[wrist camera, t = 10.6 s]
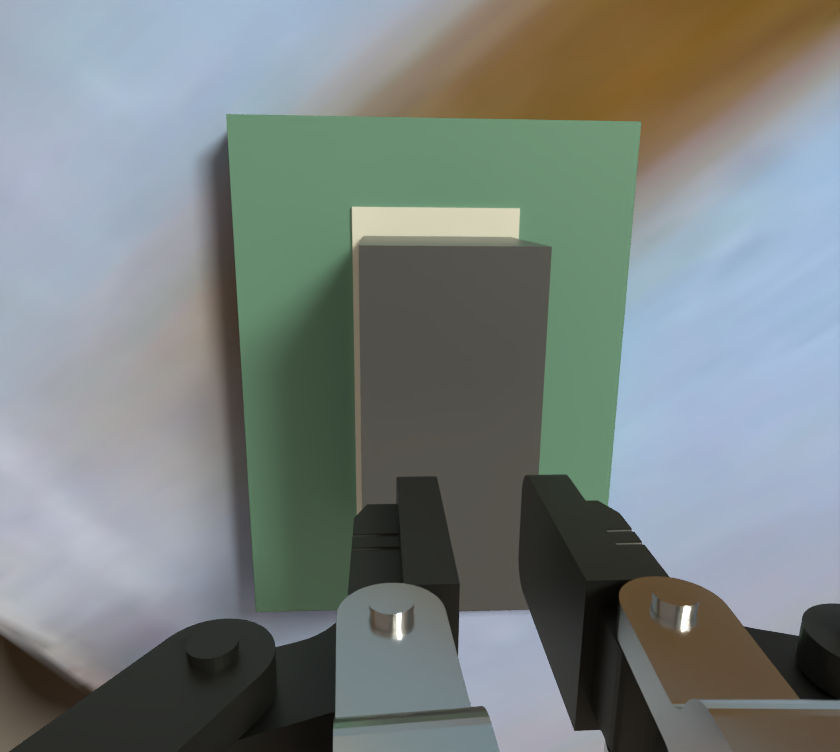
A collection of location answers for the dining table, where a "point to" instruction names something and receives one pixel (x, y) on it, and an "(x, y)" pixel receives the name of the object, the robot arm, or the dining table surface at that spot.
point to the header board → (339, 300)
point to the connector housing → (456, 389)
